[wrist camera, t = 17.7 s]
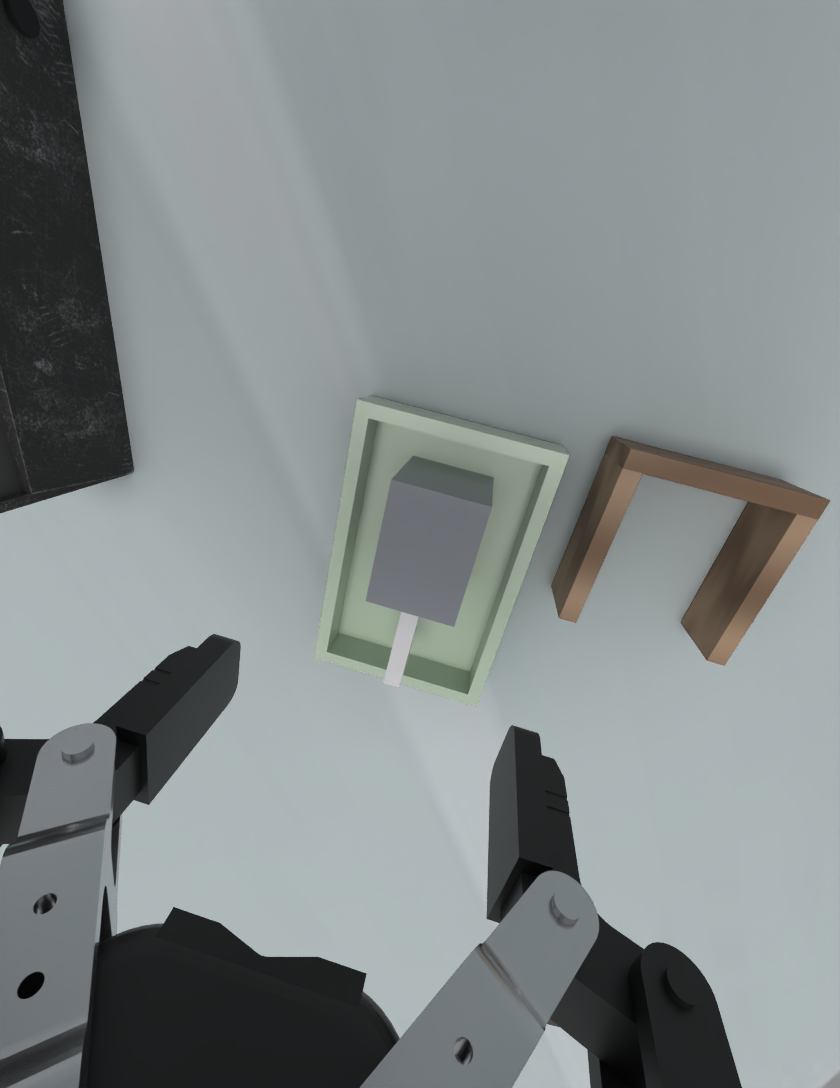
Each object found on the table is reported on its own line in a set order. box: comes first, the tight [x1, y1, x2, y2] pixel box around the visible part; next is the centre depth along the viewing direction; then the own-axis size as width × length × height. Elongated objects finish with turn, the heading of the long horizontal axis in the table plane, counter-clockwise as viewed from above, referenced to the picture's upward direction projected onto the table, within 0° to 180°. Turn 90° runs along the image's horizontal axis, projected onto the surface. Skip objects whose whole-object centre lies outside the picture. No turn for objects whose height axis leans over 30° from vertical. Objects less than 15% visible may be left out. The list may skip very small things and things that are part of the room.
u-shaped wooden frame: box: [552, 436, 830, 666], centre depth 25 cm, size 10×10×4 cm
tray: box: [314, 395, 570, 707], centre depth 28 cm, size 18×12×3 cm, turn 167°
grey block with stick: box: [366, 456, 494, 688], centre depth 27 cm, size 12×5×6 cm, turn 167°
